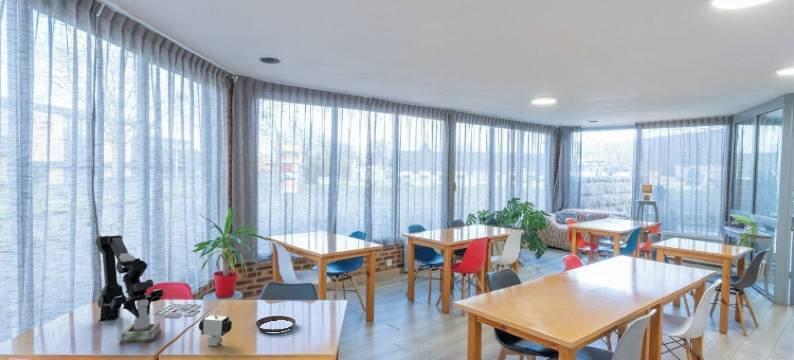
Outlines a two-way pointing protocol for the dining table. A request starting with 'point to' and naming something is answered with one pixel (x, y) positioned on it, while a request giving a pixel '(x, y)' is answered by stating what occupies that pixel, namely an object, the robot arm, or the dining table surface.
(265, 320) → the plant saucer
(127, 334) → the holder
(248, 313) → the dining table surface
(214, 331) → the pneumatic valve
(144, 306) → the grey round-headed cylinder
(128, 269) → the robot arm
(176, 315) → the floor plan model
